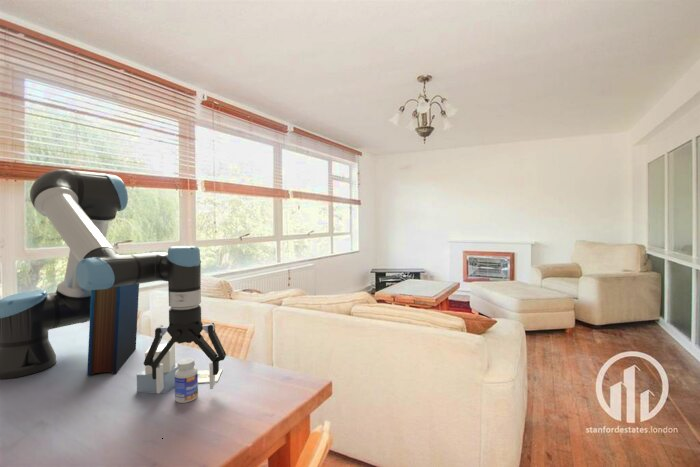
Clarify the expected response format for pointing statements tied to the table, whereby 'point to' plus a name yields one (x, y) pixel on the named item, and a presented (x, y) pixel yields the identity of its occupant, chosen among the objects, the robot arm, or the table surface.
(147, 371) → the cream cube
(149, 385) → the base block
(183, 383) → the pill bottle
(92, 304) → the book
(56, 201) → the robot arm
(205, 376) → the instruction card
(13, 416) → the table surface
